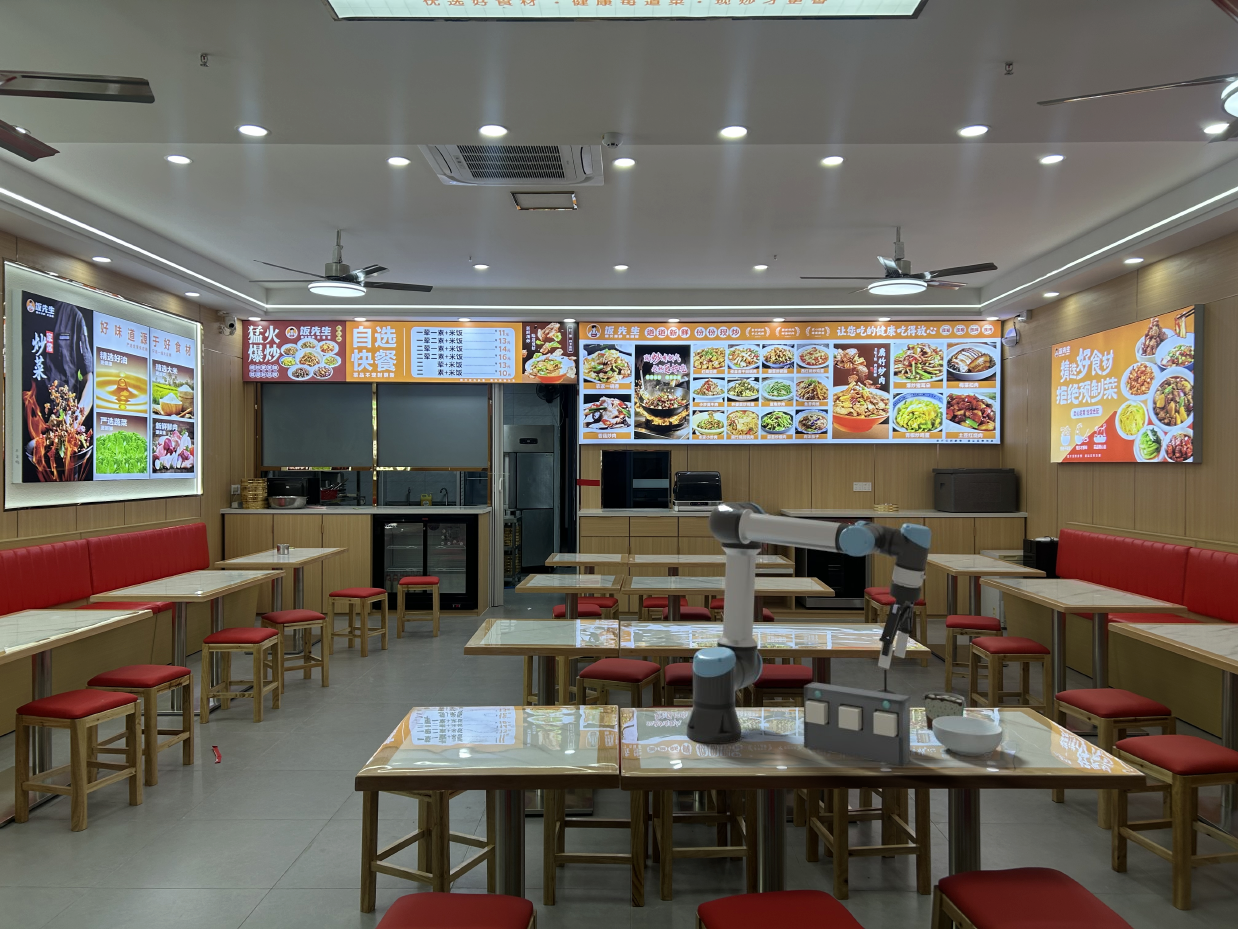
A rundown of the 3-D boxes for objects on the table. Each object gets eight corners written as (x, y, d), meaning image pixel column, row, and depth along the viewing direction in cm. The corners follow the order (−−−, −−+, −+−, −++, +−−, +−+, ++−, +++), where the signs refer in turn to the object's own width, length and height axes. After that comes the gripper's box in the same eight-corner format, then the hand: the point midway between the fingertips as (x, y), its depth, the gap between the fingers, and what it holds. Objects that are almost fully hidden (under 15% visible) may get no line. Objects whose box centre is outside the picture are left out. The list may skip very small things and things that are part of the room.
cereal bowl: (931, 756, 213) (931, 729, 213) (932, 739, 228) (932, 713, 228) (1004, 765, 206) (1004, 736, 207) (1000, 746, 222) (1000, 720, 222)
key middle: (857, 730, 209) (857, 710, 209) (838, 727, 212) (838, 707, 212) (863, 727, 213) (863, 707, 213) (844, 723, 215) (844, 704, 216)
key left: (823, 724, 214) (823, 705, 215) (805, 721, 217) (805, 702, 218) (829, 721, 218) (829, 702, 218) (811, 718, 221) (811, 699, 221)
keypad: (902, 766, 205) (902, 701, 205) (803, 747, 220) (803, 686, 220) (910, 760, 210) (909, 696, 210) (812, 741, 225) (812, 682, 225)
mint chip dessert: (973, 732, 235) (973, 696, 235) (965, 736, 231) (965, 700, 231) (930, 723, 244) (930, 689, 244) (921, 727, 239) (921, 693, 239)
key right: (893, 736, 204) (893, 716, 204) (873, 733, 207) (873, 713, 207) (898, 733, 207) (898, 713, 207) (878, 729, 210) (878, 709, 210)
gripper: (907, 594, 203) (891, 677, 205) (933, 581, 223) (918, 656, 226) (877, 586, 207) (861, 667, 209) (905, 574, 227) (891, 647, 230)
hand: (891, 661), depth 217 cm, fingers open, 13 cm apart
